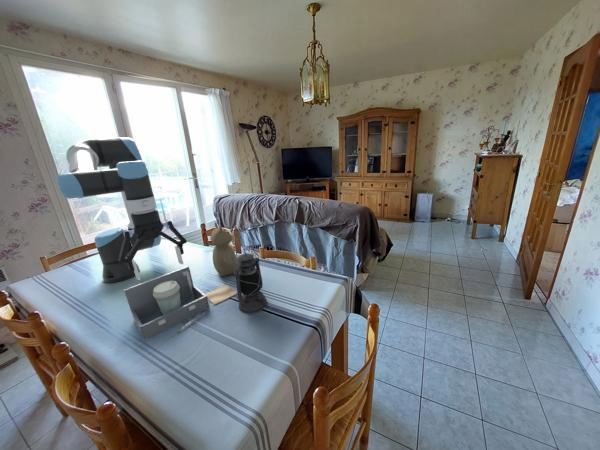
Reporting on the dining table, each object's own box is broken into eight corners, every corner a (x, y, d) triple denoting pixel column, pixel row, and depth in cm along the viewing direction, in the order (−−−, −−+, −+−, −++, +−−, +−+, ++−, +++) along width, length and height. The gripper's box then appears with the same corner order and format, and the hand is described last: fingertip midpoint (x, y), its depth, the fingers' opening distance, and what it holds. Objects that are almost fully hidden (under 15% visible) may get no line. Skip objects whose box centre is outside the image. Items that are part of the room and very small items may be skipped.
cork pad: (203, 295, 101) (203, 294, 101) (225, 285, 108) (225, 284, 108) (214, 305, 94) (214, 304, 94) (237, 293, 101) (237, 292, 101)
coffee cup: (175, 323, 86) (167, 293, 82) (154, 321, 88) (145, 292, 84) (190, 307, 94) (183, 280, 90) (171, 306, 96) (163, 279, 92)
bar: (180, 333, 81) (180, 330, 81) (178, 332, 82) (177, 329, 82) (204, 315, 90) (204, 312, 89) (202, 314, 90) (201, 311, 90)
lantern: (252, 318, 85) (239, 238, 76) (230, 309, 91) (216, 234, 82) (274, 299, 95) (265, 226, 86) (253, 292, 101) (243, 222, 91)
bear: (258, 273, 116) (251, 223, 108) (224, 285, 107) (214, 231, 100) (241, 259, 132) (235, 214, 125) (210, 268, 124) (202, 220, 116)
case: (134, 320, 89) (123, 289, 85) (194, 293, 103) (188, 265, 99) (144, 341, 79) (133, 307, 75) (210, 307, 93) (203, 277, 89)
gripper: (96, 223, 68) (119, 290, 74) (188, 204, 84) (200, 260, 90) (93, 219, 73) (115, 281, 79) (180, 201, 89) (192, 255, 96)
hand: (160, 270), depth 85 cm, fingers open, 13 cm apart
